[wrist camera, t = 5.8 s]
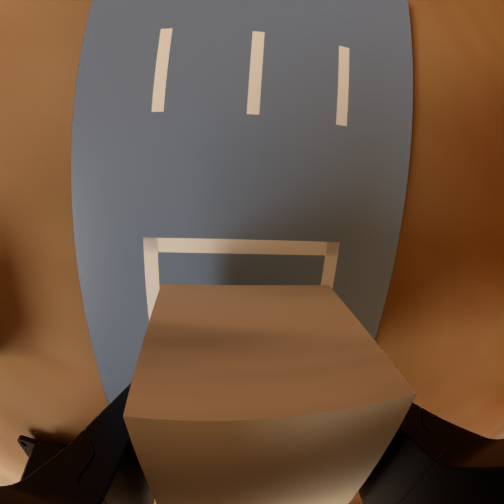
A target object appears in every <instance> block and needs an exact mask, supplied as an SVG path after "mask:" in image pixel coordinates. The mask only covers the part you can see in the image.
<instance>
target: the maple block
mask: <svg viewBox="0 0 504 504" xmlns="http://www.w3.org/2000/svg"><path fill="white" fill-rule="evenodd" d="M416 394H417V393H416V392H415V390H414V389H413V388H412V386H411V385H410V384H409V383H408V381H407V380H406V379H405V378H404V376H403V375H402V374H401V372H400V371H399V370H398V369H397V367H396V366H395V365H394V364H393V362H392V361H391V360H390V359H389V357H388V356H387V355H386V354H385V352H384V351H383V350H382V349H381V347H380V346H379V345H378V344H377V342H376V341H375V340H374V339H373V338H372V336H371V335H370V334H369V333H368V331H367V330H366V329H365V328H364V327H363V325H362V324H361V323H360V322H359V320H358V319H357V318H356V317H355V316H354V314H353V313H352V312H351V311H350V310H349V308H348V307H347V306H346V305H345V304H344V302H343V301H342V300H341V299H340V298H339V296H338V295H337V294H336V293H335V292H334V291H333V289H332V288H331V287H330V286H329V285H191V284H161V286H160V289H159V292H158V295H157V298H156V301H155V304H154V307H153V311H152V314H151V317H150V320H149V323H148V327H147V330H146V333H145V337H144V340H143V343H142V347H141V350H140V354H139V357H138V361H137V364H136V368H135V371H134V375H133V379H132V382H131V386H130V390H129V394H128V398H127V402H126V406H125V410H124V414H123V418H124V421H125V424H126V427H127V430H128V433H129V436H130V439H131V442H132V444H133V447H134V450H135V453H136V455H137V458H138V460H139V463H140V466H141V468H142V470H143V473H144V475H145V478H146V480H147V482H148V485H149V487H150V489H151V492H152V494H153V496H154V498H155V500H156V503H157V504H349V502H350V501H351V500H352V498H353V497H354V496H355V494H356V493H357V492H358V490H359V489H360V488H361V486H362V485H363V483H364V482H365V481H366V479H367V478H368V476H369V475H370V473H371V472H372V470H373V469H374V467H375V466H376V464H377V463H378V461H379V460H380V458H381V457H382V455H383V454H384V452H385V450H386V449H387V447H388V445H389V444H390V442H391V440H392V439H393V437H394V435H395V434H396V432H397V430H398V428H399V427H400V425H401V423H402V421H403V419H404V417H405V416H406V414H407V412H408V410H409V408H410V406H411V404H412V402H413V400H414V398H415V396H416Z"/></svg>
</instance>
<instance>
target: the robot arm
mask: <svg viewBox="0 0 504 504" xmlns="http://www.w3.org/2000/svg"><path fill="white" fill-rule="evenodd" d="M130 386H131V383H130V384H129V385H128V386H127V387H126V388H125V389H124V390H123V391H122V392H121V393H120V394H119V395H118V396H117V397H116V398H115V399H114V400H113V401H112V402H111V403H110V404H109V405H108V406H107V407H106V408H105V409H104V410H103V411H102V412H101V413H100V414H99V415H98V416H97V417H96V418H95V419H94V420H93V421H92V422H91V423H90V424H89V425H88V426H87V427H86V430H83V431H82V432H81V433H80V434H79V435H78V436H77V437H76V438H75V439H74V440H73V441H72V442H71V443H70V444H69V445H68V446H67V447H62V446H58V445H54V444H50V443H46V442H43V441H39V440H36V439H32V438H29V437H26V436H23V435H20V436H19V438H18V443H19V444H20V445H21V447H22V448H23V450H24V451H25V453H26V454H27V455H28V457H29V459H28V461H27V464H26V466H25V469H24V472H23V474H22V477H21V480H20V482H18V483H15V484H12V485H8V486H0V504H153V503H154V496H153V494H152V492H151V489H150V487H149V485H148V482H147V480H146V478H145V475H144V473H143V470H142V468H141V466H140V463H139V460H138V458H137V455H136V453H135V450H134V447H133V444H132V442H131V439H130V436H129V433H128V430H127V427H126V424H125V421H124V418H123V414H124V410H125V406H126V402H127V398H128V394H129V390H130ZM358 491H359V494H360V497H361V499H362V502H363V504H504V439H489V438H485V437H483V436H480V435H478V434H475V433H473V432H470V431H468V430H466V429H463V428H461V427H459V426H456V425H454V424H452V423H450V422H448V421H445V420H443V419H441V418H439V417H438V416H436V415H434V414H432V413H430V412H428V411H427V410H425V409H423V408H422V409H421V407H419V406H418V405H416V404H414V403H413V402H412V404H411V406H410V408H409V410H408V412H407V414H406V416H405V417H404V419H403V421H402V423H401V425H400V427H399V428H398V430H397V432H396V434H395V435H394V437H393V439H392V440H391V442H390V444H389V445H388V447H387V449H386V450H385V452H384V454H383V455H382V457H381V458H380V460H379V461H378V463H377V464H376V466H375V467H374V469H373V470H372V472H371V473H370V475H369V476H368V478H367V479H366V481H365V482H364V483H363V485H362V486H361V488H360V489H359V490H358Z"/></svg>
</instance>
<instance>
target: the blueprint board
mask: <svg viewBox="0 0 504 504" xmlns="http://www.w3.org/2000/svg"><path fill="white" fill-rule="evenodd" d="M412 115H413V57H412V38H411V25H410V14H409V5H408V0H92V3H91V7H90V11H89V15H88V20H87V24H86V29H85V33H84V38H83V44H82V49H81V55H80V61H79V67H78V75H77V82H76V91H75V100H74V112H73V126H72V150H71V187H72V211H73V226H74V238H75V248H76V257H77V265H78V273H79V280H80V286H81V292H82V298H83V304H84V309H85V315H86V320H87V325H88V329H89V334H90V338H91V343H92V347H93V351H94V355H95V359H96V363H97V367H98V370H99V374H100V377H101V381H102V384H103V388H104V391H105V394H106V397H107V400H108V404H110V403H111V402H112V401H113V400H114V399H115V398H116V397H117V396H118V395H119V394H120V393H121V392H122V391H123V390H124V389H125V388H126V387H127V386H128V385H129V384H130V383H131V382H132V379H133V375H134V371H135V368H136V364H137V361H138V357H139V354H140V350H141V347H142V343H143V340H144V337H145V333H146V330H147V327H148V323H149V320H150V317H151V314H152V311H153V307H154V304H155V301H156V298H157V295H158V292H159V289H160V286H161V284H191V285H329V286H330V287H331V288H332V289H333V291H334V292H335V293H336V294H337V295H338V296H339V298H340V299H341V300H342V301H343V302H344V304H345V305H346V306H347V307H348V308H349V310H350V311H351V312H352V313H353V314H354V316H355V317H356V318H357V319H358V320H359V322H360V323H361V324H362V325H363V327H364V328H365V329H366V330H367V331H368V333H369V334H370V335H371V336H372V338H373V339H374V340H375V337H376V334H377V331H378V327H379V324H380V320H381V316H382V313H383V309H384V305H385V301H386V297H387V293H388V289H389V284H390V280H391V276H392V271H393V266H394V262H395V257H396V252H397V246H398V241H399V235H400V230H401V224H402V217H403V211H404V204H405V197H406V189H407V181H408V172H409V161H410V150H411V135H412Z"/></svg>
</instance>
